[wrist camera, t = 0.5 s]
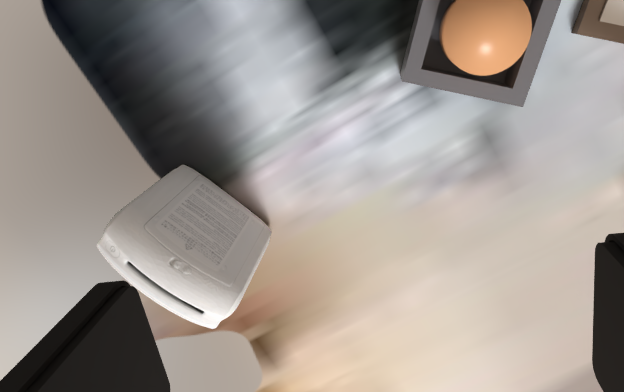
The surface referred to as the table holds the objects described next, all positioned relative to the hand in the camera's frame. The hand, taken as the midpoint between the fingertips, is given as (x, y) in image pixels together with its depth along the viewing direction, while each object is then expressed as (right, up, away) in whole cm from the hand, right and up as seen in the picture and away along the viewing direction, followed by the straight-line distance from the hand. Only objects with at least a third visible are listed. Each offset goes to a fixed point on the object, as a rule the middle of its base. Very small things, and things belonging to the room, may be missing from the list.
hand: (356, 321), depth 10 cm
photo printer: (-9, +1, +32) cm, 33 cm away
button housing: (+10, +14, +24) cm, 30 cm away
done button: (+10, +13, +21) cm, 27 cm away
